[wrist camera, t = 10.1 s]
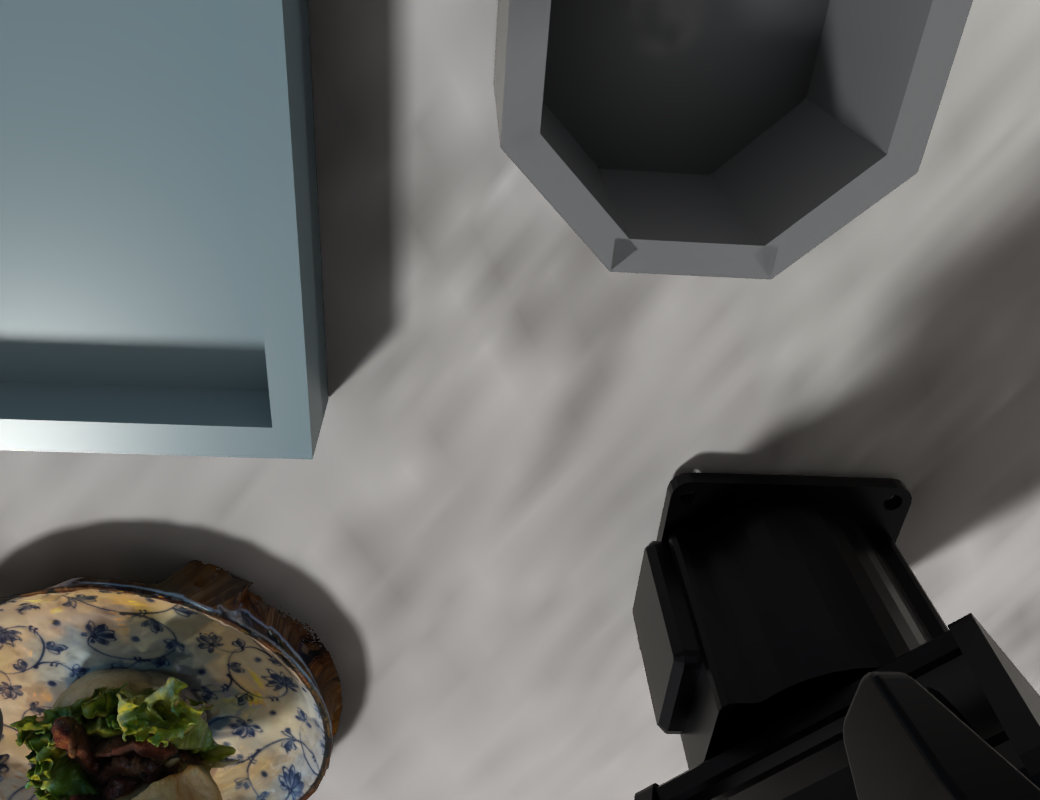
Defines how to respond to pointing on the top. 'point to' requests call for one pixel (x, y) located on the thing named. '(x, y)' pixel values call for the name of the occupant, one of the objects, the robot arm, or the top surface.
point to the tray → (159, 229)
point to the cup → (718, 120)
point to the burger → (161, 693)
